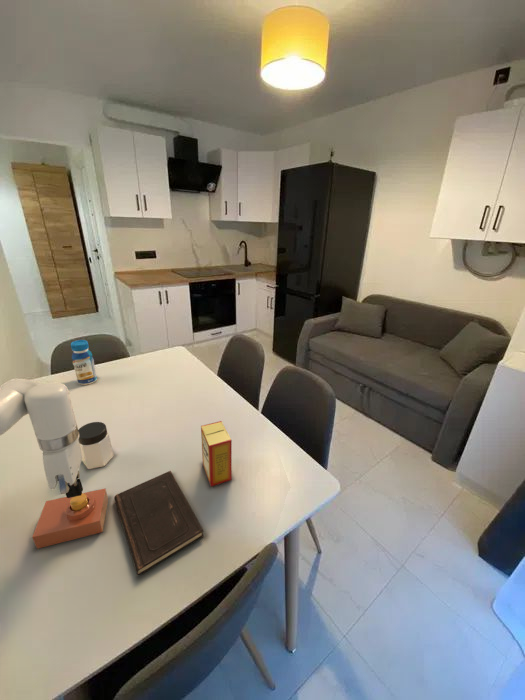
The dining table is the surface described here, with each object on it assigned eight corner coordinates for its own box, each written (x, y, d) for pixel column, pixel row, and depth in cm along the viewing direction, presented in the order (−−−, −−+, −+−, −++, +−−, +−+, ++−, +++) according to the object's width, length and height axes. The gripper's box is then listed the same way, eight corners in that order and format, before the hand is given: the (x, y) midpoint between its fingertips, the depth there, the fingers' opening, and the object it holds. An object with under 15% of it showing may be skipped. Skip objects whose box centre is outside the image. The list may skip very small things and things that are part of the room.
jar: (115, 447, 100) (109, 419, 95) (112, 465, 93) (105, 435, 88) (85, 453, 97) (77, 424, 92) (80, 471, 90) (71, 441, 85)
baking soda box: (231, 479, 90) (231, 439, 83) (210, 486, 87) (209, 445, 80) (222, 458, 97) (221, 419, 91) (202, 464, 95) (200, 424, 88)
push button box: (36, 548, 69) (29, 532, 66) (50, 512, 77) (44, 496, 75) (102, 532, 73) (98, 515, 71) (108, 498, 82) (104, 483, 79)
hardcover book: (171, 475, 90) (170, 470, 89) (203, 536, 73) (203, 530, 72) (115, 501, 81) (113, 495, 80) (137, 577, 64) (136, 570, 63)
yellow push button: (69, 512, 71) (68, 507, 71) (73, 500, 74) (71, 494, 74) (86, 509, 72) (84, 503, 72) (89, 497, 76) (87, 491, 75)
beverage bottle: (101, 378, 142) (94, 340, 134) (88, 386, 134) (79, 347, 126) (87, 375, 143) (78, 338, 135) (73, 383, 136) (63, 344, 128)
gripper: (49, 418, 70) (65, 474, 77) (25, 463, 57) (47, 525, 64) (84, 413, 72) (97, 468, 80) (69, 456, 59) (86, 517, 67)
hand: (75, 494), depth 72 cm, fingers closed
